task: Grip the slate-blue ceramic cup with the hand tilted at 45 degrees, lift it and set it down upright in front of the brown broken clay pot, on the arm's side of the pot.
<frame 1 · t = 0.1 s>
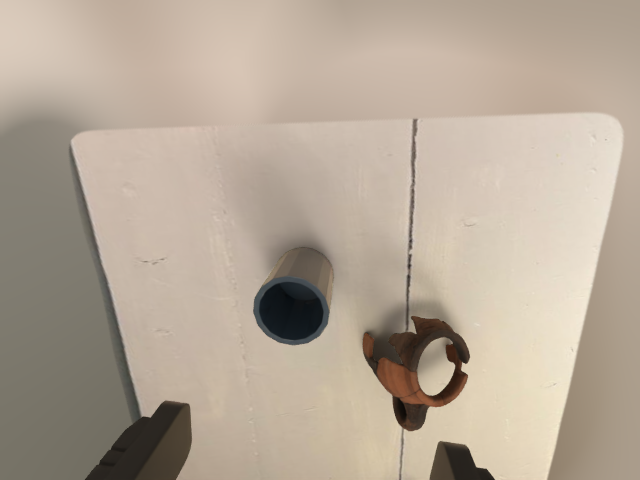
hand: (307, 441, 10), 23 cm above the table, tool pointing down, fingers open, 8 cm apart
brown broken clay pot: (405, 349, 35), on the table
cup: (304, 275, 33), on the table
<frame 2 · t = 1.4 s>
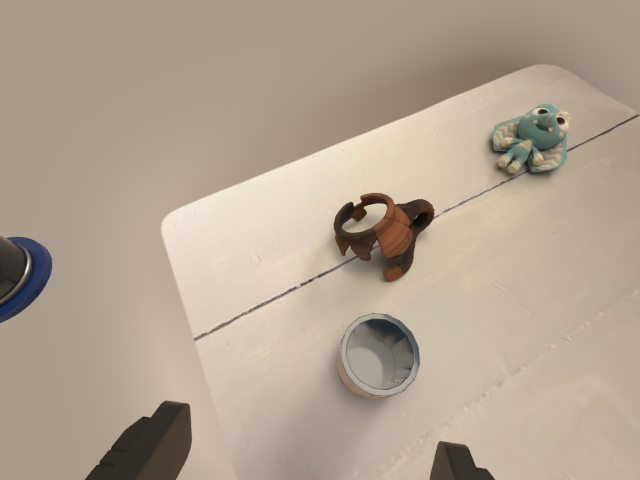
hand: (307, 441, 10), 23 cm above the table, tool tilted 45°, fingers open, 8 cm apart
stuffed animal: (520, 153, 46), on the table
brown broken clay pot: (381, 244, 39), on the table
cup: (367, 363, 32), on the table
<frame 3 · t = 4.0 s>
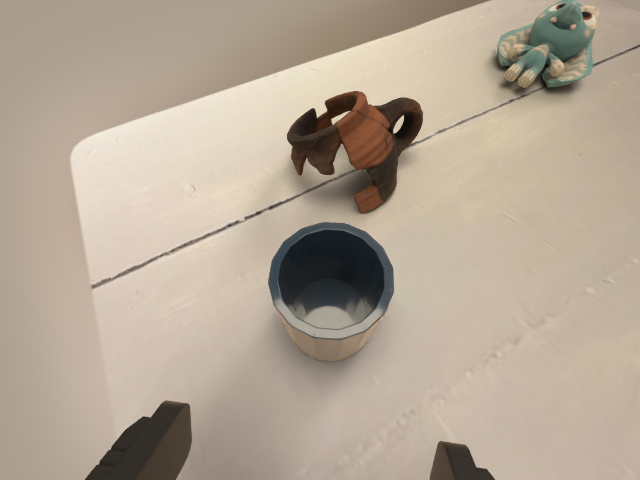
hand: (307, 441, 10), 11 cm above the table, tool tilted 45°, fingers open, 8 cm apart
stuffed animal: (533, 70, 37), on the table
brown broken clay pot: (355, 170, 30), on the table
cup: (329, 315, 23), on the table
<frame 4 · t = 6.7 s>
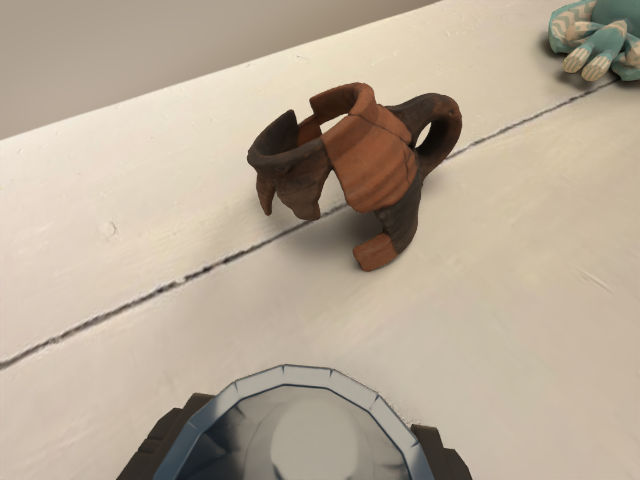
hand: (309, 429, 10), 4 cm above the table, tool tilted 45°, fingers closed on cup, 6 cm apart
stuffed animal: (596, 58, 27), on the table
brown broken clay pot: (355, 201, 20), on the table
cup: (309, 466, 13), on the table, touching gripper
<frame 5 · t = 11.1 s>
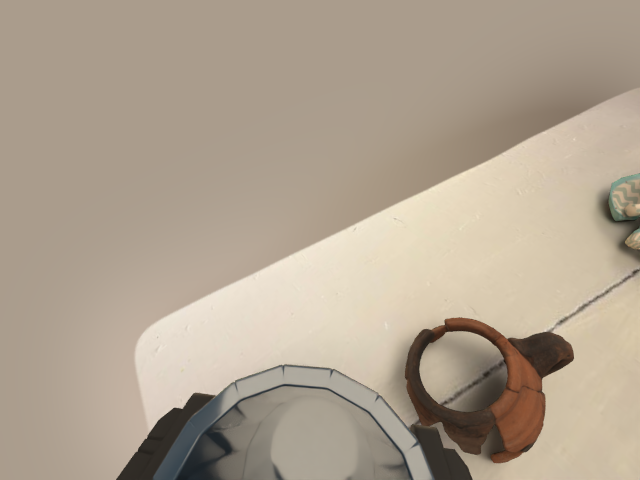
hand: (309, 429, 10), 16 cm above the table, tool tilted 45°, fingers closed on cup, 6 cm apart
brown broken clay pot: (471, 384, 25), on the table
cup: (309, 467, 13), point 12 cm above the table, touching gripper
when the fingers open (4 cm above the table, at t = 15.4 s): cup stays where it is, on the table.
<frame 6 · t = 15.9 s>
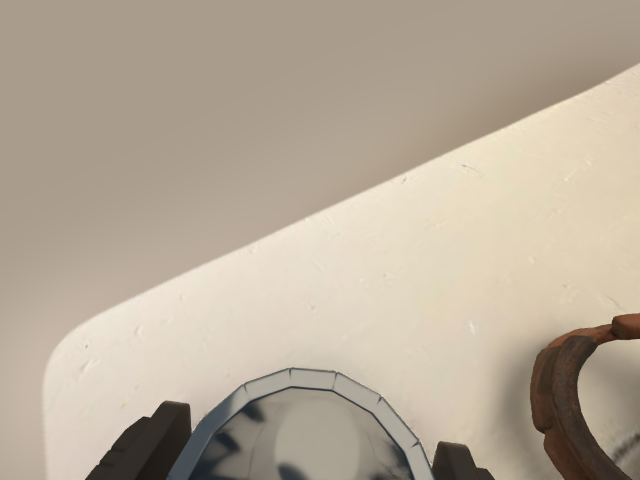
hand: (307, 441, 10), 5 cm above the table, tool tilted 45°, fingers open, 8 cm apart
brown broken clay pot: (639, 433, 14), on the table
cup: (313, 465, 14), on the table
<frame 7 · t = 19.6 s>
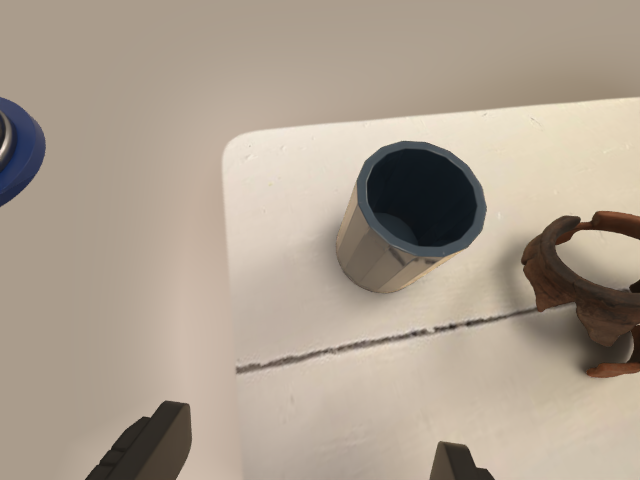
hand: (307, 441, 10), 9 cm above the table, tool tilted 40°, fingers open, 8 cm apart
brown broken clay pot: (580, 301, 22), on the table
cup: (379, 249, 22), on the table
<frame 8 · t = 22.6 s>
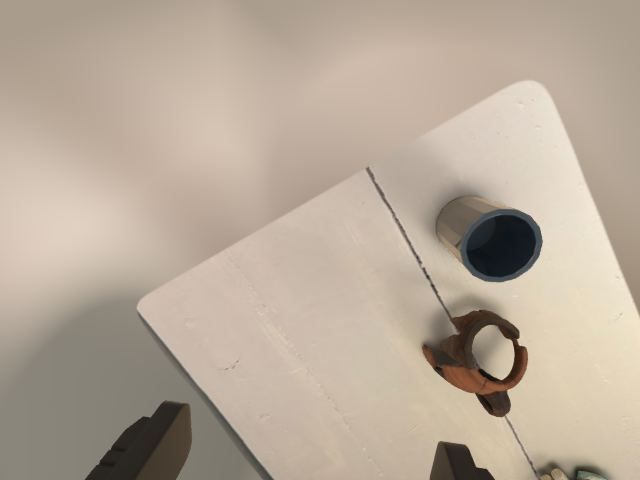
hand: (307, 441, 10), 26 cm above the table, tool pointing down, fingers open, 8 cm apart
brown broken clay pot: (465, 344, 37), on the table
cup: (466, 225, 33), on the table
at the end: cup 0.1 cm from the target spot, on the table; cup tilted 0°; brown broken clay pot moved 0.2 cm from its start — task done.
